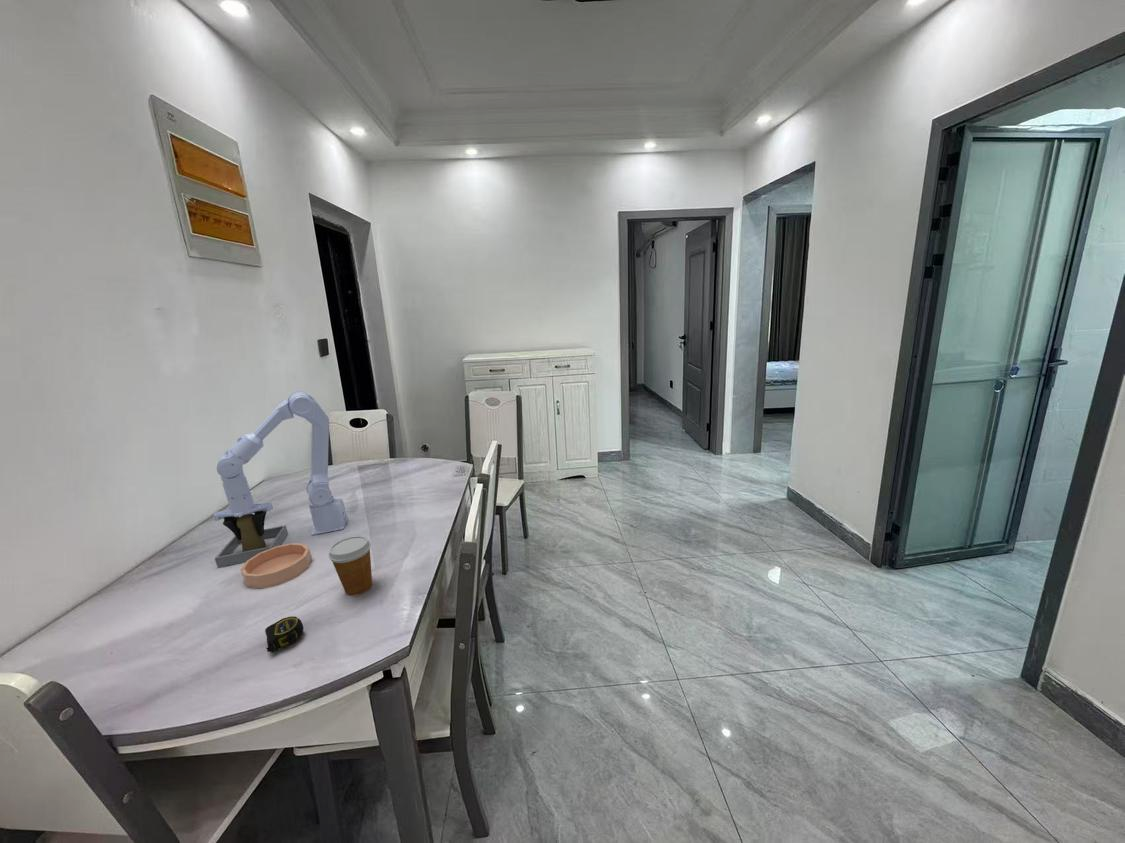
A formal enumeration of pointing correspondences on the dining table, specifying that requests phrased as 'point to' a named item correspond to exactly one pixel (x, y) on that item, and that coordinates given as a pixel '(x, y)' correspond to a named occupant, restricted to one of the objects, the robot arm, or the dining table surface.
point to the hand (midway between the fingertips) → (251, 536)
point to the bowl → (276, 565)
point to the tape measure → (283, 633)
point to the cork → (249, 533)
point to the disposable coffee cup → (352, 564)
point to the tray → (228, 558)
